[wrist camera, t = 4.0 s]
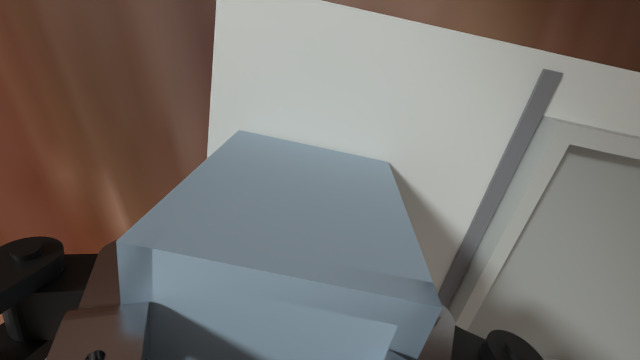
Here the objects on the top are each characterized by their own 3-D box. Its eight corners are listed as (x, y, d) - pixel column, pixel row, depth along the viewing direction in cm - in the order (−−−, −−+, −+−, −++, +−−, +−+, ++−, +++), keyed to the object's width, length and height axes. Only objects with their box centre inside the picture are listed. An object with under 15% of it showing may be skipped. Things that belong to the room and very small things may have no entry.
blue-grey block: (226, 252, 14) (130, 432, 8) (238, 130, 12) (116, 241, 5) (351, 277, 14) (360, 475, 8) (388, 161, 12) (443, 307, 5)
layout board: (208, 299, 17) (139, 435, 11) (233, -16, 11) (112, -75, 5) (606, 379, 18) (737, 548, 12) (835, 120, 12) (1329, 203, 6)
